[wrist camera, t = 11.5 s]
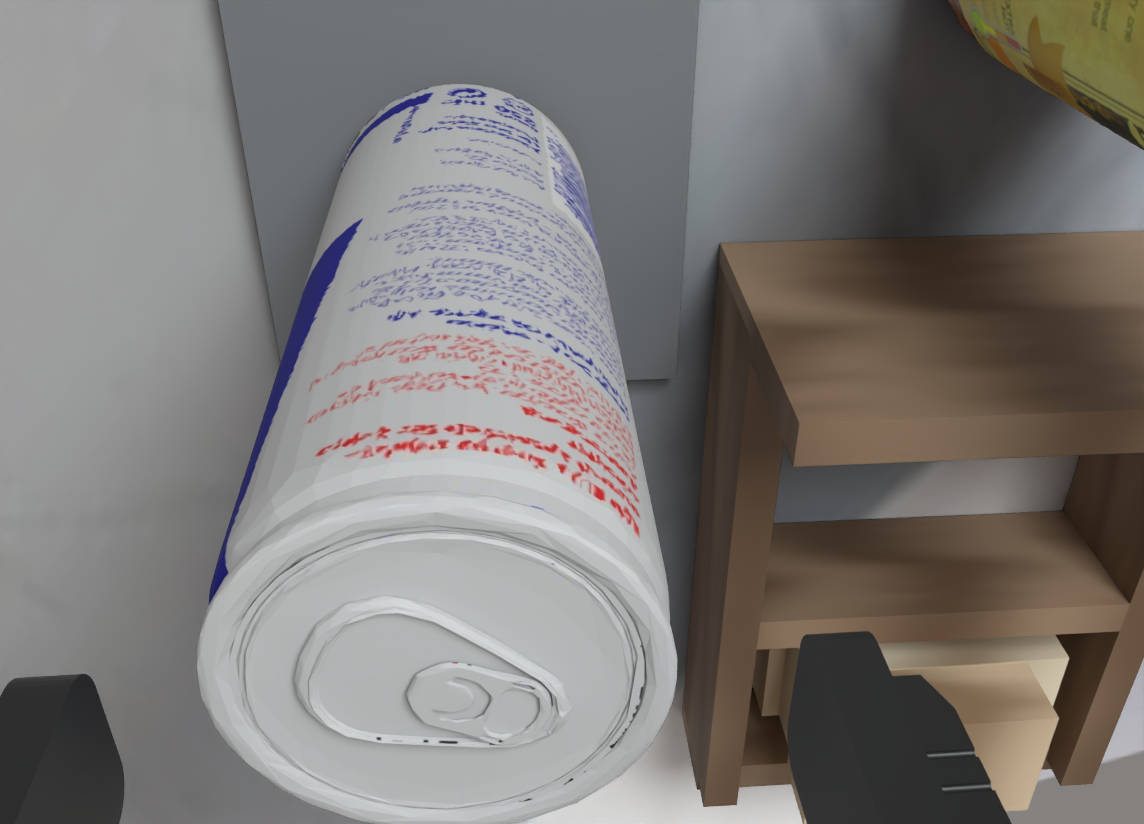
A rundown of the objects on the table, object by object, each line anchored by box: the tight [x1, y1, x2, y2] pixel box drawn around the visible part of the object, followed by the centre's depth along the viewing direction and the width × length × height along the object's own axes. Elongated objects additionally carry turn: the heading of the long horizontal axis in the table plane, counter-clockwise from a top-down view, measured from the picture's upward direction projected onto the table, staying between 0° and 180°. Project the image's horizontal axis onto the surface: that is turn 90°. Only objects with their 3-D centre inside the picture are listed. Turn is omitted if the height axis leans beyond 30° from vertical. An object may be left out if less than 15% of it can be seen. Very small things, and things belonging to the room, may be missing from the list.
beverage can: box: [197, 84, 677, 824], centre depth 19 cm, size 6×6×15 cm
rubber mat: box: [218, 0, 699, 380], centre depth 25 cm, size 10×10×1 cm
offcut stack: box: [752, 635, 1069, 824], centre depth 32 cm, size 8×4×6 cm, turn 91°
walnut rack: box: [682, 231, 1144, 807], centre depth 28 cm, size 12×17×8 cm
